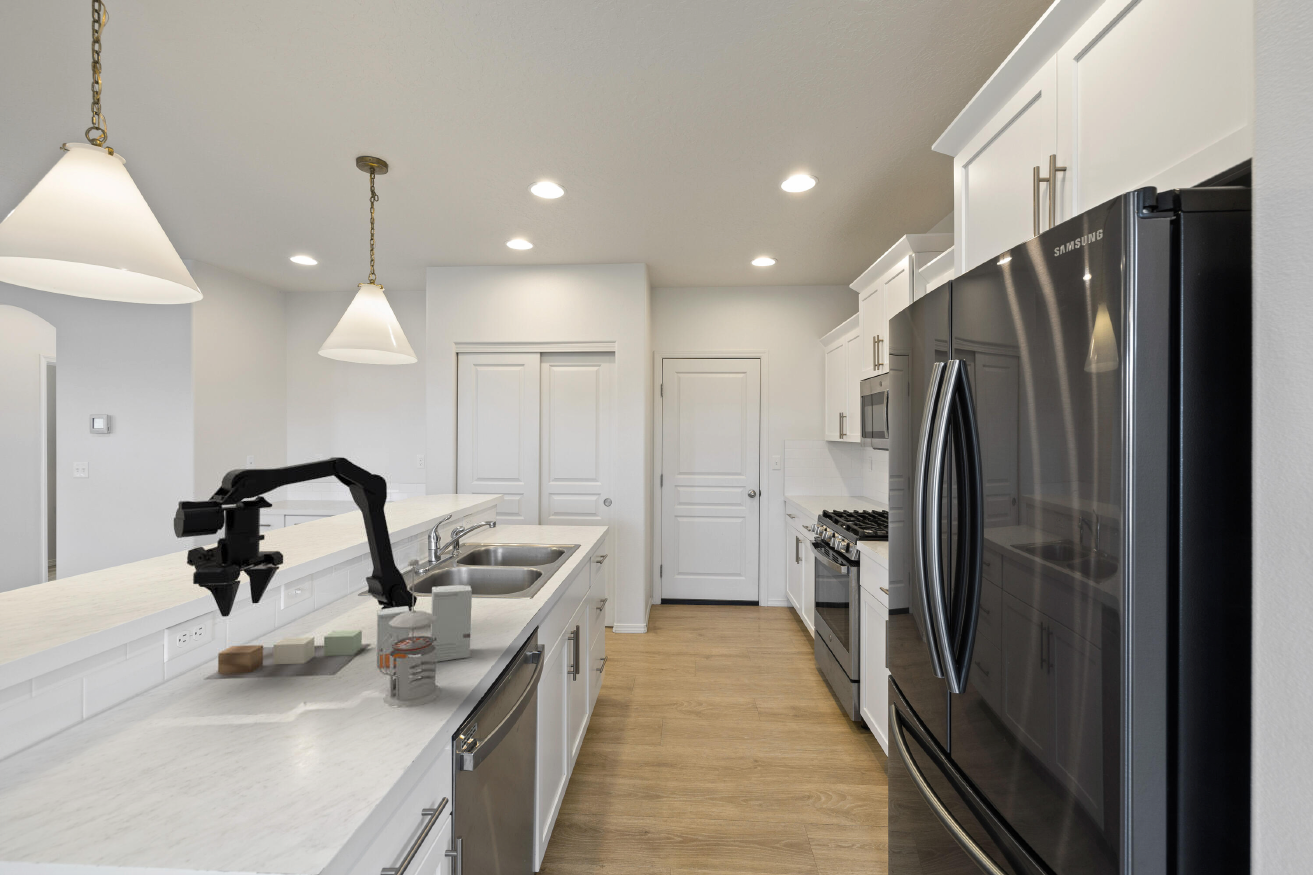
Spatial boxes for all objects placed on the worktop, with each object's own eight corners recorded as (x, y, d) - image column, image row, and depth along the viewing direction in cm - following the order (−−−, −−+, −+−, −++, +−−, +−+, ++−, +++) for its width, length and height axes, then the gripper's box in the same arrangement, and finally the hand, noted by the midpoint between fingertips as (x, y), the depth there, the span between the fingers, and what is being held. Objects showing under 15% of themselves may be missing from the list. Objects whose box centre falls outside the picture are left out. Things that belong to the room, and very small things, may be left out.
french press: (452, 690, 105) (453, 556, 105) (398, 716, 95) (399, 568, 95) (417, 679, 110) (417, 552, 110) (361, 703, 99) (362, 563, 100)
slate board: (371, 649, 126) (371, 643, 126) (334, 680, 109) (334, 674, 109) (258, 652, 124) (258, 647, 124) (203, 685, 107) (203, 679, 107)
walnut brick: (262, 664, 114) (263, 644, 114) (250, 672, 110) (250, 652, 110) (231, 665, 114) (232, 645, 114) (218, 673, 110) (218, 653, 110)
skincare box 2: (430, 663, 118) (430, 592, 118) (429, 653, 123) (430, 586, 124) (472, 657, 121) (472, 588, 121) (469, 648, 127) (469, 582, 127)
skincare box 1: (376, 674, 112) (376, 614, 112) (376, 667, 116) (376, 609, 116) (409, 669, 115) (409, 610, 115) (408, 661, 119) (408, 605, 119)
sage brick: (361, 648, 124) (361, 629, 124) (353, 654, 120) (353, 635, 120) (333, 648, 123) (333, 630, 123) (324, 655, 119) (324, 636, 119)
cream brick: (314, 655, 119) (314, 637, 119) (304, 663, 115) (304, 643, 115) (284, 656, 118) (284, 638, 118) (273, 664, 114) (273, 644, 114)
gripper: (231, 525, 121) (229, 597, 121) (162, 539, 103) (161, 625, 102) (285, 525, 122) (284, 596, 122) (227, 538, 104) (225, 623, 103)
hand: (241, 609), depth 112 cm, fingers open, 9 cm apart
